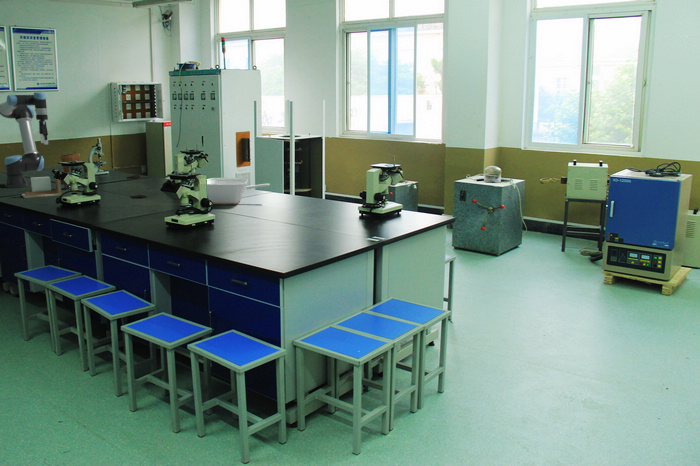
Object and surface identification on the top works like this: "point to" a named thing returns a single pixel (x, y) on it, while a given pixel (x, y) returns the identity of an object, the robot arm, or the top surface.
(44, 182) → the door panel
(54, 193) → the brown l-shaped stand
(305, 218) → the top surface
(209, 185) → the pot
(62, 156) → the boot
